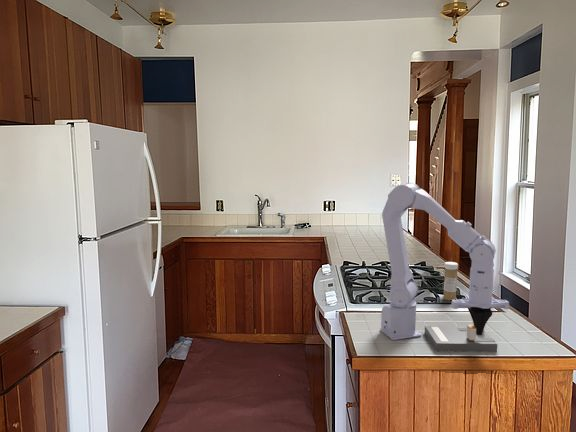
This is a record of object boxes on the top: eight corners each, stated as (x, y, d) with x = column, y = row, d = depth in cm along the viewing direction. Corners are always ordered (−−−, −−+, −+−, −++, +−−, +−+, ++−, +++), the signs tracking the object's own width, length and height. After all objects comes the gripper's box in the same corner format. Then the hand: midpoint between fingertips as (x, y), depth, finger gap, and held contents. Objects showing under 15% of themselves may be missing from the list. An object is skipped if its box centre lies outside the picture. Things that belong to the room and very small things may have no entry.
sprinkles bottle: (446, 296, 164) (447, 260, 162) (458, 298, 161) (460, 262, 159) (440, 299, 161) (442, 263, 159) (453, 302, 157) (455, 265, 156)
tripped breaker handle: (469, 340, 120) (470, 328, 119) (466, 336, 122) (467, 324, 122) (475, 340, 120) (476, 328, 119) (472, 336, 122) (472, 324, 122)
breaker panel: (436, 351, 119) (436, 343, 119) (424, 332, 131) (424, 325, 131) (496, 351, 119) (497, 343, 118) (479, 333, 130) (479, 325, 130)
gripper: (458, 289, 115) (456, 339, 117) (515, 289, 114) (512, 339, 116) (449, 281, 122) (447, 328, 124) (503, 281, 121) (500, 329, 123)
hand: (478, 333), depth 121 cm, fingers closed
